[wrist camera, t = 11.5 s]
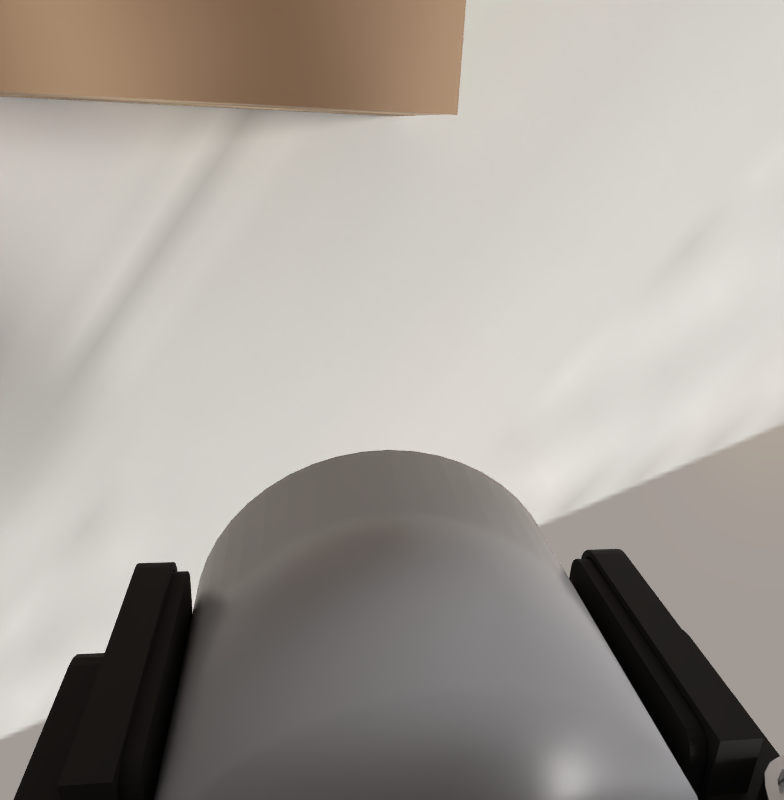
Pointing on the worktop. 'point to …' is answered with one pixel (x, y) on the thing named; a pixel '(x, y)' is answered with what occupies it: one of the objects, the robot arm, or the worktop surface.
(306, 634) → the grey knob post
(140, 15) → the lid
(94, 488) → the worktop surface
